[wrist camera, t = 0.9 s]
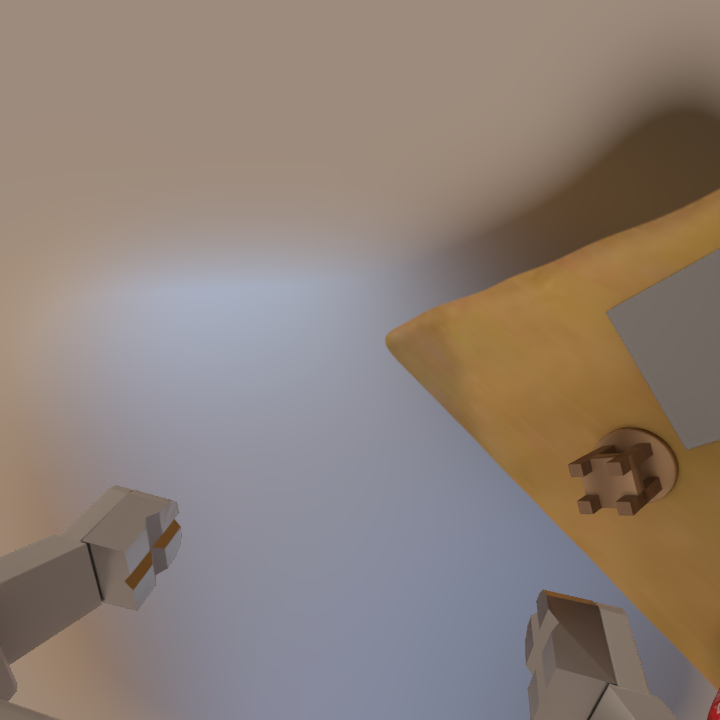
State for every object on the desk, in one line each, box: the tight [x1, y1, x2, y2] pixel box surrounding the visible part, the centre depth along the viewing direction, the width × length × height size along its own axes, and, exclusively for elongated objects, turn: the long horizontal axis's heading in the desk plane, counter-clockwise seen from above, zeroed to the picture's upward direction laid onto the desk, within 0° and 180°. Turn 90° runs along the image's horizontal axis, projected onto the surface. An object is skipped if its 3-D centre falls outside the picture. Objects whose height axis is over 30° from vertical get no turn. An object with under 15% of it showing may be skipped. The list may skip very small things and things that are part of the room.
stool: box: [568, 428, 678, 516], centre depth 43 cm, size 7×7×9 cm
